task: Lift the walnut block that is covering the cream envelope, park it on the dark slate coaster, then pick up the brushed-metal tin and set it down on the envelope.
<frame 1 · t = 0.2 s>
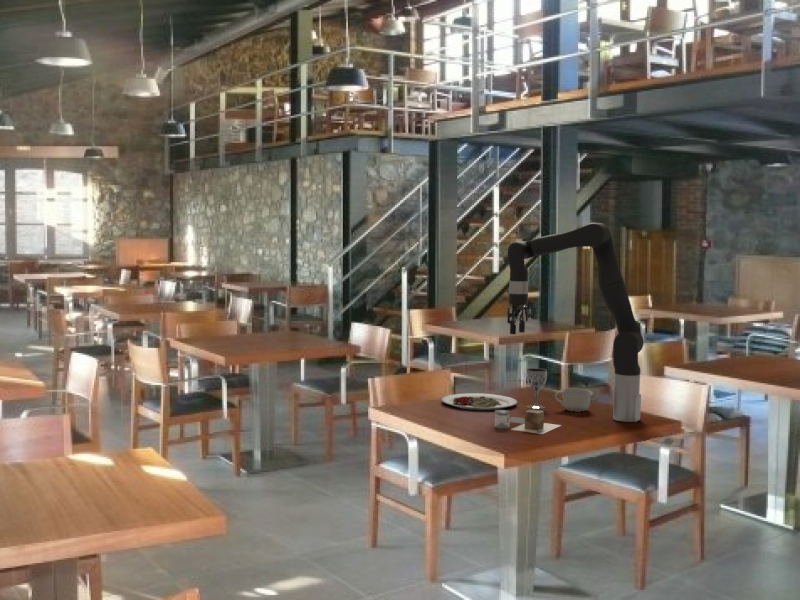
hand: (517, 333, 360), 29 cm above the table, tool pointing down, fingers open, 8 cm apart
wine glass: (535, 407, 360), on the table
envelope: (536, 428, 321), on the table
teacup: (572, 410, 355), on the table
plated food: (479, 405, 364), on the table
tin: (502, 428, 320), on the table
walnut block: (534, 428, 319), resting on envelope
coaster: (518, 421, 332), on the table
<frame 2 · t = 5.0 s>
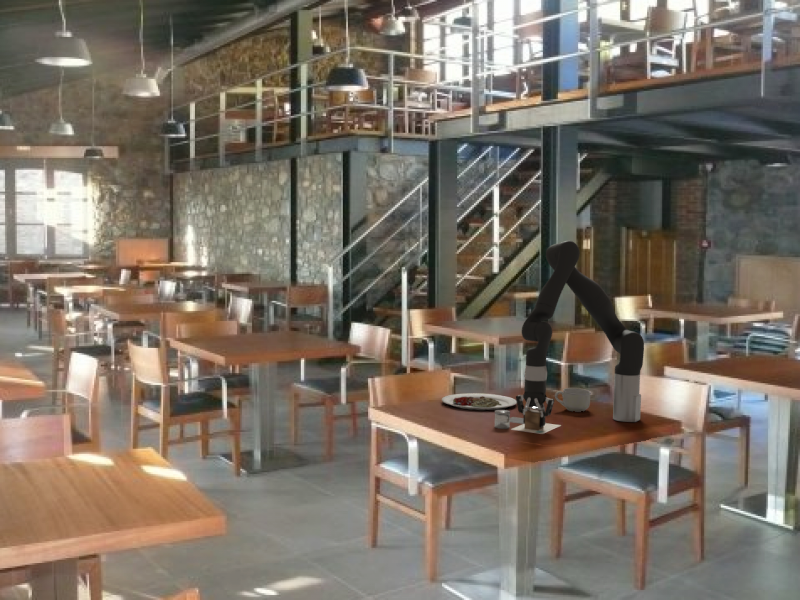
hand: (534, 426, 319), 1 cm above the table, tool pointing down, fingers closed on walnut block, 5 cm apart
walnut block: (534, 428, 319), resting on envelope, touching gripper
everything else where it was.
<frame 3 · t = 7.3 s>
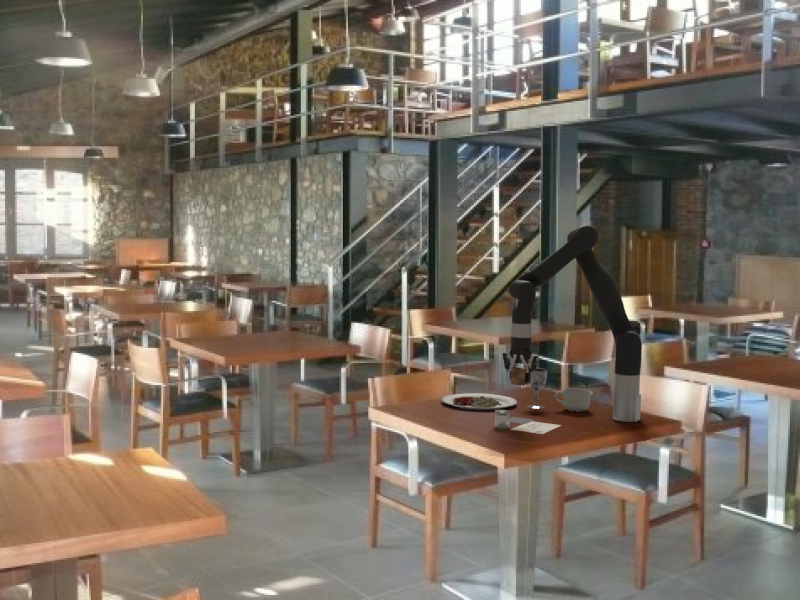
hand: (519, 381, 331), 15 cm above the table, tool pointing down, fingers closed on walnut block, 5 cm apart
walnut block: (519, 384, 331), point 14 cm above the table, touching gripper
everything else where it was.
when the fingers open (2 cm above the table, at t = 9.9 s): walnut block drops 1 cm, resting on coaster.
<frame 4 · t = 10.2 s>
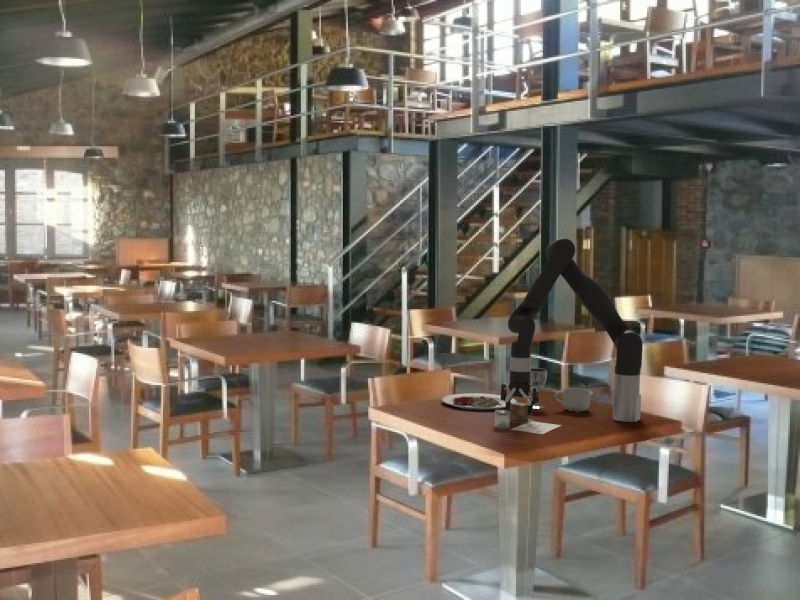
hand: (519, 413, 332), 3 cm above the table, tool pointing down, fingers open, 8 cm apart
walnut block: (518, 420, 332), resting on coaster
everything else where it was.
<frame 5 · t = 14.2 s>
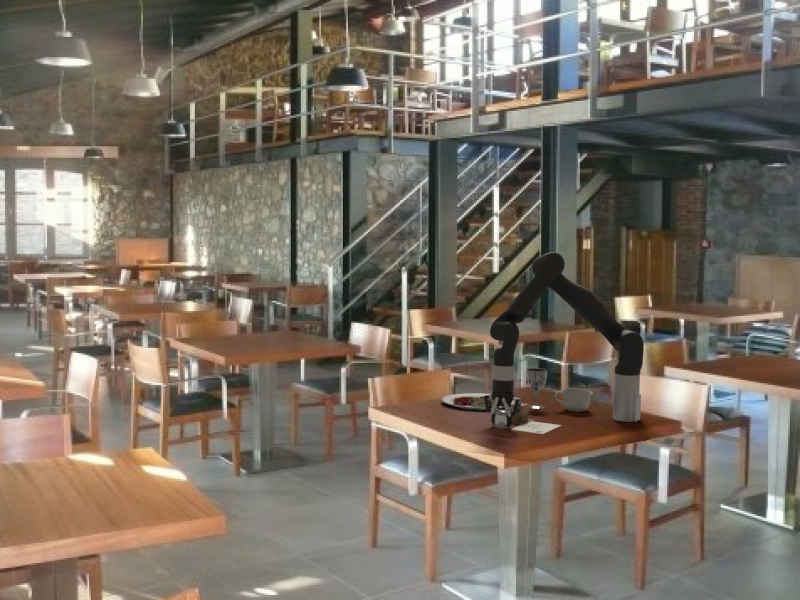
hand: (502, 425, 320), 1 cm above the table, tool pointing down, fingers closed on tin, 5 cm apart
tin: (502, 428, 320), on the table, touching gripper
everything else where it was.
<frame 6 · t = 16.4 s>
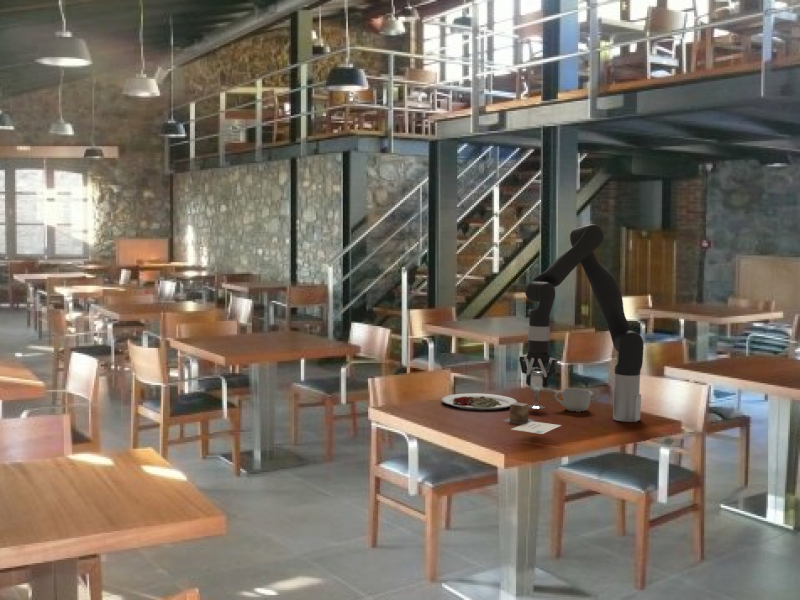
hand: (537, 386, 320), 15 cm above the table, tool pointing down, fingers closed on tin, 5 cm apart
tin: (537, 389, 320), point 14 cm above the table, touching gripper
everything else where it was.
when the fingers open (3 cm above the table, at t = 19.0 s): tin drops 1 cm, resting on envelope.
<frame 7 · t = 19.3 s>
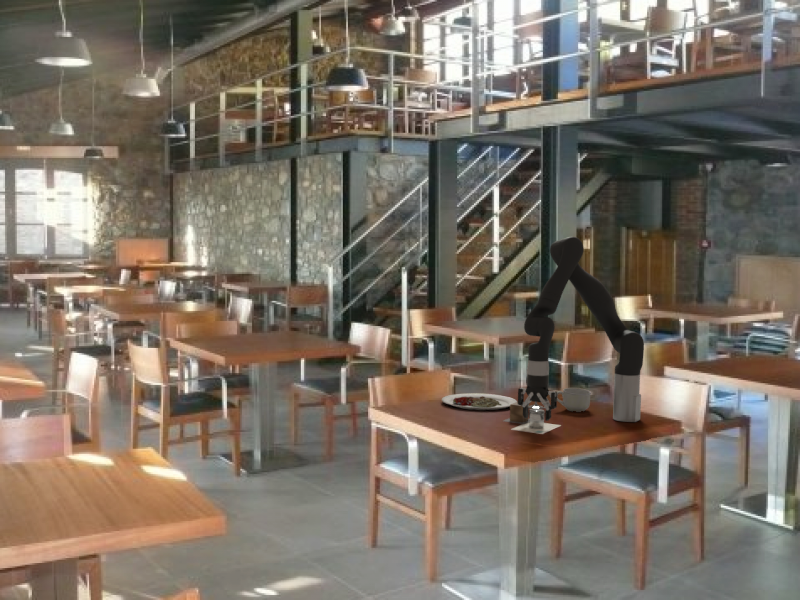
hand: (536, 419, 321), 3 cm above the table, tool pointing down, fingers open, 7 cm apart
tin: (536, 427, 321), resting on envelope
everything else where it was.
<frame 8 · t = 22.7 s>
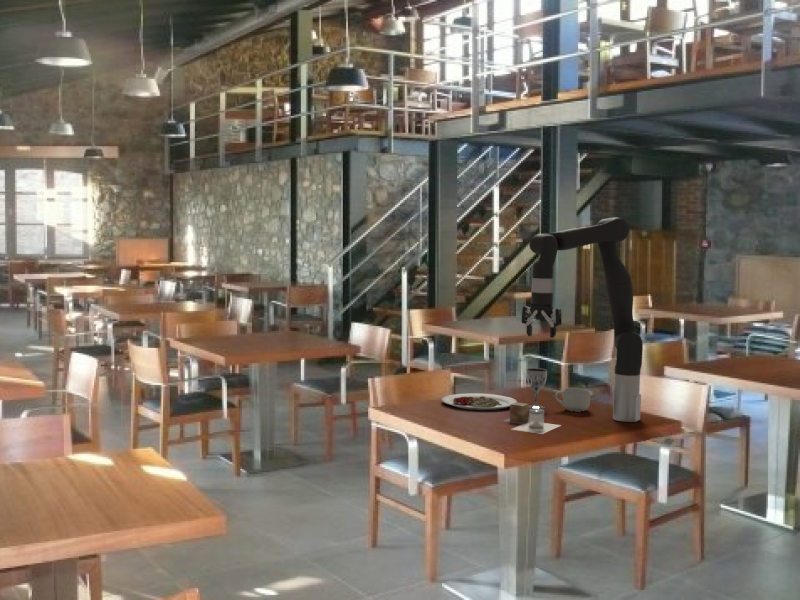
hand: (540, 336, 322), 32 cm above the table, tool pointing down, fingers open, 8 cm apart
nothing on the table moved.
at the end: tin inside the target area on the envelope (0.0 cm from its centre), point 0.4 cm above the envelope's base; tin tilted 0°; walnut block 0.1 cm from the coaster (horizontally) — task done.
